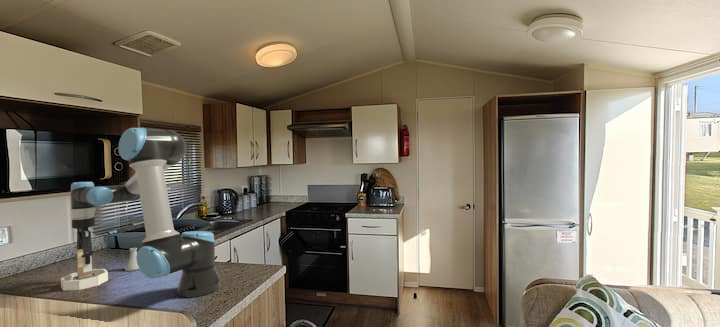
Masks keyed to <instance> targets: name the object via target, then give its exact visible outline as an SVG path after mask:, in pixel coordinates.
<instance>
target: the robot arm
mask: <svg viewBox="0 0 720 327" xmlns="http://www.w3.org/2000/svg"><path fill="white" fill-rule="evenodd" d="M186 152H187V144H186V141H185V139H184V137H182V136H181V134H179V133H178V132H176V131H173V130H169V129H158V128H157V129H155V128H147V127H130V128H128V129H126V130H125V131H123V133H122V134H121V137H120V139H119V142H118V154H119V156H120V157H121V159H123V160H125V161H128V165H129V167H130V168H131V169H133V170H134V171H135V173H134V174H133V176H131V177H130V178H129V179H128V180H127V181H126V182H125V183H124V184H120V185H119V184H117V185H104V186H95V184H94V182H93V181H78V182H77V181H75V182H72V183H71V184H70V190H69V192H70V200H71V201H70V203H71V209H70V212H71V213H70V216H71V217H70V218H72V220H71V228H72V229H74V230H76V235H77V236H76V251H77V250H78V249H83V255H82V256H81V257H83V273H84V272H89V271H92V269H93V257H92V256H93V246H92V236H91V235H92V232H91V230H89V228H92V227H94V226H96V219H95V218H96V217H95V212H96V211H97V209H96V208H95V206H98V207H99V206H106V205H108V204H117V203H123V202H124V203H125V202H136V201H140V207H141V212H142V217H143V224H144V228H145V229H144V230H145V238H144V239H143V240H142V241H141V242H142V243H141V244H142V246H141V247H140V248H139V249H137V256H136V259H137V264H138V267H139V269H138V270H139V271H140V272H141V273H142V274H143V275H144V276H145V277H146V278H149V279H159V278H162V277H166V276H168V275H171V274H173V273H176V272H179V271H181V276H180V278H179V283H178V286H177V295H178V296H180V297H182V298H195V297H200V296H201V297H202V296H204V295H208V294H211V293H215V291H217V290H219V289H220V287H221V280H220V277H219V274H218V272H217V270H216V260H215V256H216V255H215V253H216V252H215V250H216V249H215V248H216V247H215V245H216V244H215V242H216V241H215V235H214V233H213V232H211V231H208V230H207V231H204V230H202V231H201V230H199V231H198V230H195V231H192V230H191V231H184V232H182V233H181V234H180V232H179V231H177V230H175V227H174V222H173V216H172V210H171V205H170V200H169V199H170V198H169V194H168V188H167V182H166V176H165V172H166V171H167V170H168V169H169V168H170V167H171V166H176V165H177V164H179V163H180V162H181V160H182V159H183V158H184V156H185V155H186ZM87 252H88V253H87Z"/></svg>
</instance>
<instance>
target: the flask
mask: <svg viewBox="0 0 720 327" xmlns="http://www.w3.org/2000/svg"><path fill="white" fill-rule="evenodd" d="M137 252H138V247H132V248H131V247H130V248H129V258H128V261H127V263H126V265H125V268H124V271H125V272H131V271H137V270H138V271H139V270H140V269H139V267H138V264H137V259H136V256H137V255H138V254H137Z"/></svg>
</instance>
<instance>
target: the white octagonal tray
mask: <svg viewBox="0 0 720 327" xmlns="http://www.w3.org/2000/svg"><path fill="white" fill-rule="evenodd" d="M108 281H109V272H108V270H107V269H105V268H92V276H88V277H83V278H79V279H78V274H77V272H72V273H69V274H67V275H65V276H62V277H60V288H61V290H62V291H63V292H64V291H65V292H66V291H69V292H70V291H81V290H85V289H88V288H93V287H98V286H100V285H102V284H103V283H107V282H108Z"/></svg>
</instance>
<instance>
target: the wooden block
mask: <svg viewBox="0 0 720 327" xmlns="http://www.w3.org/2000/svg"><path fill="white" fill-rule="evenodd" d="M87 253H88V252H87ZM82 255H83V249H78V250H77V249H76V266H77V267H76V269H77V270H76V271H77V274H78V279H79V278H83V277H88V276H92V271H89V272H84V273H83V257H81V256H82Z"/></svg>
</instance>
